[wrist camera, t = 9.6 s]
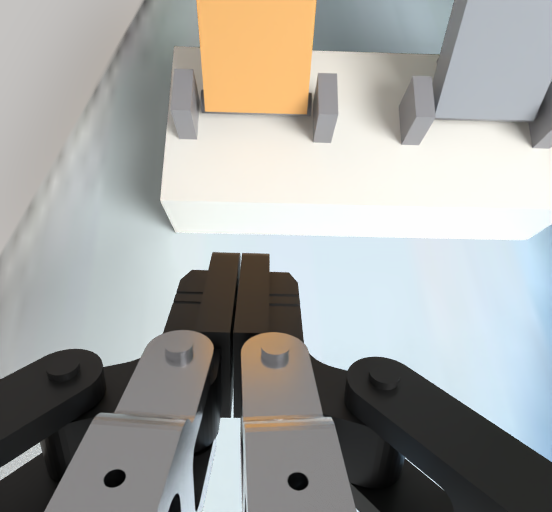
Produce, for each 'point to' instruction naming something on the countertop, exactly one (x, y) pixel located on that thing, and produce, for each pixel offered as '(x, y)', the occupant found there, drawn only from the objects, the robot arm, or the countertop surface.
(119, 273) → the countertop surface
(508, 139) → the power strip
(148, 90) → the countertop surface
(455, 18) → the grey switch
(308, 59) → the orange switch
